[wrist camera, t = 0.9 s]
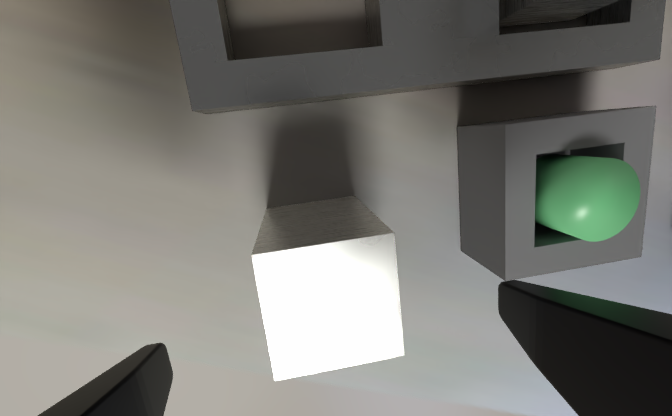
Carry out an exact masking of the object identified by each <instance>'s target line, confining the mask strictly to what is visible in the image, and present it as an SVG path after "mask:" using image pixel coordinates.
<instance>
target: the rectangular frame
mask: <svg viewBox="0 0 672 416" xmlns="http://www.w3.org/2000/svg"><path fill="white" fill-rule="evenodd" d="M169 1H170V6H171V11H172V16H173V21H174V25H175V30H176V35H177V40H178V45H179V49H180V54H181V59H182V64H183V69H184V73H185V78H186V83H187V88H188V93H189V97H190V102H191V107H192V111H195V112H200V113H204V114H212V113H221V112H230V111H239V110H248V109H257V108H266V107H275V106H284V105H293V104H302V103H311V102H320V101H329V100H338V99H347V98H355V97H364V96H373V95H382V94H391V93H400V92H409V91H418V90H427V89H436V88H445V87H454V86H463V85H472V84H481V83H490V82H499V81H508V80H517V79H526V78H535V77H544V76H553V75H562V74H571V73H580V72H589V71H598V70H607V69H615V68H620V67H625V66H630V65H635V64H640V63H645V62H649V61H654V60H659V59H660V52H661V42H662V32H663V22H664V12H665V2H666V0H619V1H617V2H614V3H612V4H609V5H607V6H605V7H602V8H600V9H597V10H595V11H592V12H590V13H587V26H586V27H575V28H565V29H554V30H544V31H534V32H523V33H513V34H502V35H499V0H365V7H366V18H367V30H368V41H369V47H366V48H356V49H346V50H335V51H325V52H314V53H304V54H293V55H283V56H272V57H262V58H252V59H241V60H235V58H234V53H233V47H232V41H231V35H230V30H229V24H228V18H227V12H226V7H225V1H224V0H169Z"/></svg>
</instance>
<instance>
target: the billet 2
mask: <svg viewBox="0 0 672 416" xmlns="http://www.w3.org/2000/svg"><path fill="white" fill-rule="evenodd" d="M617 1H619V0H499V27H504V26H514V25H525V24H536V23H547V22H557V21H568V20H573V19H575V18H578V17H580V16H583V15H585V14H587V13H590V12H592V11H595V10H597V9H600V8H602V7H605V6H607V5H609V4H612V3H614V2H617Z"/></svg>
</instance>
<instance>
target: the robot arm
mask: <svg viewBox="0 0 672 416" xmlns="http://www.w3.org/2000/svg"><path fill="white" fill-rule="evenodd" d="M498 309H499V314H500V316H501V318H502V320H503V321H504V323H505V324H506V325H507V327H508V328H509V330H510V331H511V332H512V334H513V335H514V337H515V338H516V339H517V341H518V342H519V344H520V345H521V346H522V348H523V349H524V351H525V352H526V353H527V355H528V356H529V358H530V359H531V360H532V362H533V363H534V364H535V365H536V367H537V368H538V369H539V370H540V371H541V373H542V374H543V375H544V376H545V377H546V379H547V380H548V381H549V382H550V383H551V384H552V385H553V387H554V388H555V389H556V390H557V391H558V392H559V394H560V395H561V396H562V397H563V398H564V399H565V400H566V402H567V403H568V404H569V405H570V406H571V407H572V409H573V410H574V411H575V412H576V413H577V414H578V415H579V416H672V315H671V314H667V313H663V312H658V311H654V310H649V309H645V308H640V307H636V306H631V305H627V304H622V303H617V302H613V301H608V300H604V299H599V298H595V297H590V296H586V295H581V294H577V293H572V292H567V291H563V290H558V289H554V288H549V287H545V286H540V285H536V284H531V283H527V282H522V281H517V280H510V281H505V282H501V283H500V284H499V287H498ZM172 379H173V371H172V367H171V363H170V360H169V356H168V352H167V349H166V346H165V345H164V344H163V343H156V344H150V345H146V346H144V347H142V348H141V349H139V350H138V351H136V352H135V353H133V354H132V355H130V356H129V357H127V358H126V359H124V360H122V361H121V362H120V363H118V364H116V365H115V366H113V367H112V368H110V369H109V370H107V371H106V372H104V373H102V374H101V375H99V376H98V377H96V378H95V379H93V380H92V381H90V382H89V383H87V384H86V385H84V386H82V387H81V388H79V389H78V390H77V391H75V392H73V393H72V394H70V395H69V396H67V397H66V398H64V399H62V400H61V401H59V402H58V403H56V404H55V405H53V406H52V407H50V408H49V409H47V410H46V411H44V412H43V413H41V414H39V415H38V416H163V415H164V411H165V407H166V403H167V399H168V395H169V391H170V388H171V384H172Z"/></svg>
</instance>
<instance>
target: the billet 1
mask: <svg viewBox="0 0 672 416" xmlns="http://www.w3.org/2000/svg"><path fill="white" fill-rule="evenodd" d="M251 256H252V261H253V266H254V272H255V277H256V283H257V288H258V293H259V299H260V304H261V309H262V315H263V320H264V326H265V331H266V336H267V342H268V347H269V352H270V358H271V363H272V368H273V374H274V379H275V381H277V380H282V379H287V378H293V377H298V376H303V375H308V374H313V373H318V372H323V371H328V370H333V369H338V368H343V367H349V366H354V365H359V364H364V363H369V362H374V361H379V360H384V359H389V358H394V357H399V356H404V345H403V332H402V320H401V308H400V296H399V283H398V271H397V259H396V246H395V234H394V232H393V231H392V230H391V229H390V228H389V227H388V226H387V225H385V224H384V223H383V222H382V221H381V220H380V219H379V218H378V217H377V216H376V215H375V214H374V213H373V212H372V211H370V210H369V209H368V208H367V207H366V206H365V205H364V204H363V203H362V202H361V201H360V200H359V199H358V198H357V197H355V196H350V197H343V198H336V199H329V200H322V201H315V202H308V203H301V204H294V205H287V206H280V207H273V208H267V209H266V212H265V215H264V218H263V221H262V224H261V227H260V230H259V233H258V236H257V239H256V243H255V246H254V249H253V252H252V255H251Z"/></svg>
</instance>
